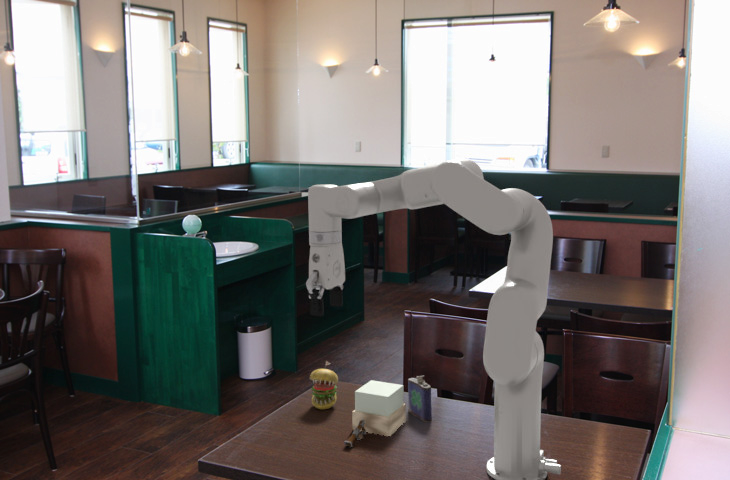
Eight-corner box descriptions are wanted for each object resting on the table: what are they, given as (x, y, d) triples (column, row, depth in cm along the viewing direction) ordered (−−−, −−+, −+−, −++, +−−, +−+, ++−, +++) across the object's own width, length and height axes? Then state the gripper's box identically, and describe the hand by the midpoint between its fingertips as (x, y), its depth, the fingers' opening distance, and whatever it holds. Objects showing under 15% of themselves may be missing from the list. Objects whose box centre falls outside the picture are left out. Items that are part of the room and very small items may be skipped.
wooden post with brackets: (370, 431, 168) (366, 418, 166) (354, 456, 162) (350, 442, 160) (364, 430, 169) (359, 416, 167) (348, 454, 163) (343, 440, 161)
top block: (403, 404, 175) (403, 385, 174) (388, 416, 167) (388, 396, 166) (371, 398, 179) (371, 380, 178) (355, 410, 171) (354, 391, 170)
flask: (406, 411, 183) (406, 371, 181) (415, 408, 184) (415, 369, 183) (425, 423, 175) (425, 382, 173) (435, 420, 176) (435, 380, 175)
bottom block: (405, 422, 176) (405, 403, 175) (389, 437, 167) (389, 417, 166) (370, 416, 180) (369, 398, 179) (352, 430, 171) (352, 411, 170)
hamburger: (306, 409, 185) (304, 366, 183) (315, 400, 192) (314, 358, 190) (333, 412, 182) (332, 368, 181) (342, 402, 189) (341, 360, 188)
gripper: (322, 244, 151) (324, 320, 154) (356, 234, 167) (357, 304, 169) (292, 242, 154) (294, 317, 157) (328, 233, 170) (329, 301, 172)
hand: (327, 310), depth 163 cm, fingers open, 9 cm apart
